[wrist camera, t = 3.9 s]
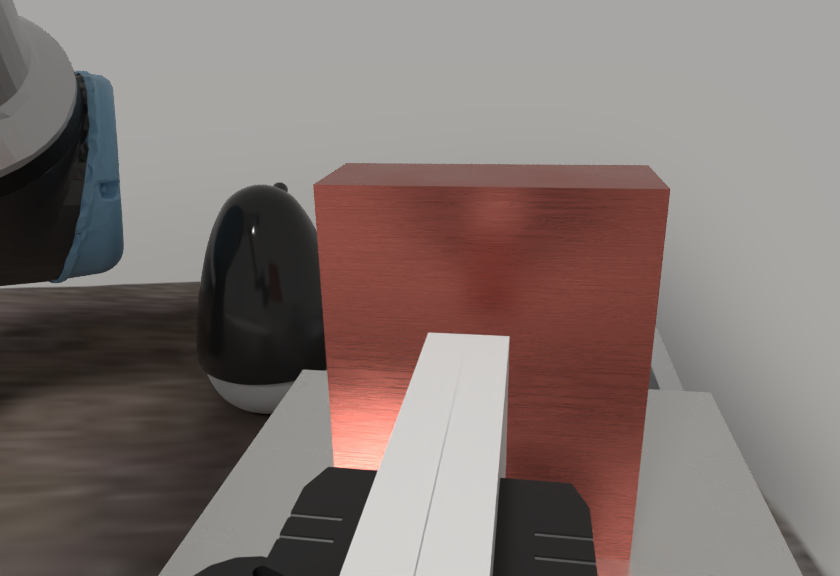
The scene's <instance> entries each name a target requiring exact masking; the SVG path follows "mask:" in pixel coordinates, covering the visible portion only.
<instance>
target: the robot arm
mask: <svg viewBox="0 0 840 576" xmlns="http://www.w3.org/2000/svg"><path fill="white" fill-rule="evenodd" d="M114 109H115V108H114V96H113V87H112V85H111V83H110V81H109V80H108V79H106V78H105V77H103V76H100V75H94V74H90V73H88V72H87V71H76V72H74V70H73V68H72V65H71V63H70V61H69V59H68V57H67V55H66V53H65V51H64V50H63V49H62V47H61V46H60V45H59V43H58V42H57V41H56V40H55V39H54V38H53V37H51V36H50V35H49V34H48V33H47V32H46V31H44V30H43V29H42V28H40V27H39V26H38V25H36V24H34V23H33V22H31V21H29V20H27V19H25V18H23V17H21V16H19V15H18V13H17V11H16V8H15V5H14V3H13V0H0V286H6V285H16V284H27V283H37V282H47V281H49V282H51V283H61V282H63V281H65V280H67V279H68V278H73V277H80V276H86V275H91V274H98V273H103V272H106V271H108V270H110V269H112V268H113V267H114V266H115V265H116V264H117V263H118V262H119V260H120V259H121V257H122V254H123V249H124V244H123V243H124V242H123V224H122V210H121V197H120V180H119V163H118V148H117V133H116V120H115V110H114ZM509 337H510V336H493V335H471V334H449V333H428V335H427V337H426V340H425V343H424V346H423V348H422V351H421V354H420V356H419V359H418V362H417V365H416V367H415V370H414V373H413V376H412V378H411V381H410V384H409V387H408V389H407V392H406V395H405V397H404V400H403V403H402V406H401V408H400V411H399V414H398V417H397V419H396V422H395V425H394V428H393V430H392V433H391V436H390V439H389V441H388V444H387V447H386V449H385V452H384V455H383V458H382V460H381V463H380V466H379V469H378V470H365V469H352V468H339V467H327V468H326V469H325V470H324V471H322V472H321V473H320V474H319V475H318V476H316V477H315V478H314V479H313V480H312V481H310V482H309V483H308V484H307V485H305V486H304V487H303V489H302V491H301V493H300V495H299V497H298V499H297V501H296V503H295V505H294V507H293V509H292V511H291V515H290V517H288V518H287V520H286V522H285V524H284V526H283V528H282V530H281V532H280V536H279V539H276V541H275V543H274V545H273V547H272V549H271V551H270V553H269V555H268V557H263V556H255V557H236V558H233V559H229V560H226V561H223V562H220V563H216V564H213V565H210V566H208V567H207V568H205V569H203V570H202V571H200V572H199V573H197V574H195V575H194V576H598V573H597V567H596V557H595V548H594V542H593V532H592V524H591V515H590V508H589V507H588V505H587V504H586V502H585V501H584V500H583V498H582V497H581V496H580V494H579V493H578V491H577V490H576V489H575V487H574V486H573V484H572V483H563V482H550V481H537V480H525V479H512V478H505V472H506V447H507V411H508V374H509Z"/></svg>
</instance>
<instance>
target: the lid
mask: <svg viewBox="0 0 840 576" xmlns="http://www.w3.org/2000/svg"><path fill="white" fill-rule="evenodd" d="M669 195H670V188H669V187H668V186H667V185H666V184H665V183H664V182H663V181H662V180H661V179H660V178H659V177H658V176H657V175H656V173H655V172H654V171H653V170H652V169H651V168H650V167H649V166H642V165H639V166H638V165H508V164H505V165H504V164H502V165H501V164H495V165H494V164H376V163H374V164H371V163H346V164H345V165H343V166H342V167H340V168H339V169H337V170H335V171H334V172H332V173H331V174H329V175H328V176H326V177H325V178H323V179H321V180H320V181H319V182H317V183H315V184H314V199H315V212H316V226H317V240H318V254H319V267H320V281H321V294H322V308H323V322H324V335H325V349H326V363H327V371H320V370H303V371H302V372H301V373H300V375H299V376H298V378H297V379H296V381H295V382H294V383H293V385H292V386H291V388H290V389H289V391H288V392H287V393H286V395H285V396H284V398H283V399H282V400H281V402H280V403H279V405H278V406H277V408H276V409H275V410H274V412H273V413H272V415H271V416H270V418H269V419H268V420H267V422H266V423H265V425H264V426H263V427H262V429H261V430H260V432H259V433H258V435H257V436H256V437H255V439H254V440H253V442H252V443H251V445H250V446H249V447H248V449H247V450H246V452H245V453H244V454H243V456H242V457H241V459H240V460H239V462H238V463H237V464H236V466H235V467H234V469H233V470H232V472H231V473H230V474H229V476H228V477H227V479H226V480H225V481H224V483H223V484H222V486H221V487H220V489H219V490H218V491H217V493H216V494H215V496H214V497H213V499H212V500H211V501H210V503H209V504H208V506H207V507H206V508H205V510H204V511H203V513H202V514H201V516H200V517H199V518H198V520H197V521H196V523H195V524H194V526H193V527H192V528H191V530H190V531H189V533H188V534H187V535H186V537H185V538H184V540H183V541H182V543H181V544H180V545H179V547H178V548H177V550H176V551H175V553H174V554H173V555H172V557H171V558H170V560H169V561H168V562H167V564H166V565H165V567H164V568H163V570H162V571H161V572H160V574H159V575H158V576H194V575H195V574H197V573H199V572H200V571H202V570H203V569H205V568H207V567H208V566H210V565H213V564H216V563H220V562H223V561H226V560H229V559H233V558H236V557H255V556H263V557H268V555H269V553H270V551H271V549H272V547H273V545H274V543H275V541H276V539H279V536H280V532H281V530H282V528H283V526H284V524H285V522H286V520H287V518H288V517H290V515H291V511H292V509H293V507H294V505H295V503H296V501H297V499H298V497H299V495H300V493H301V491H302V489H303V487H304V486H305V485H307V484H308V483H309V482H310V481H312V480H313V479H314V478H315V477H316V476H318V475H319V474H320V473H321V472H322V471H324V470H325V469H326V468H327V467H339V468H352V469H365V470H378V469H379V466H380V463H381V460H382V458H383V455H384V452H385V449H386V447H387V444H388V441H389V439H390V436H391V433H392V430H393V428H394V425H395V422H396V419H397V417H398V414H399V411H400V408H401V406H402V403H403V400H404V397H405V395H406V392H407V389H408V387H409V384H410V381H411V378H412V376H413V373H414V370H415V367H416V365H417V362H418V359H419V356H420V354H421V351H422V348H423V346H424V343H425V340H426V337H427V335H428V333H449V334H471V335H493V336H510V337H509V374H508V411H507V447H506V472H505V478H512V479H525V480H537V481H550V482H563V483H572V484H573V486H574V487H575V489H576V490H577V491H578V493H579V494H580V496H581V497H582V498H583V500H584V501H585V502H586V504H587V505H588V507H589V508H590V515H591V524H592V532H593V542H594V548H595V557H596V567H597V573H598V576H802V574H801V572H800V570H799V568H798V566H797V564H796V562H795V560H794V558H793V556H792V554H791V552H790V550H789V548H788V546H787V544H786V542H785V540H784V538H783V536H782V534H781V532H780V530H779V528H778V526H777V524H776V522H775V520H774V518H773V516H772V514H771V512H770V510H769V508H768V506H767V504H766V502H765V500H764V498H763V496H762V494H761V492H760V490H759V488H758V486H757V484H756V482H755V480H754V478H753V476H752V474H751V472H750V470H749V468H748V466H747V464H746V462H745V460H744V458H743V457H742V455H741V453H740V451H739V449H738V447H737V445H736V443H735V441H734V439H733V437H732V435H731V433H730V431H729V429H728V427H727V425H726V423H725V421H724V419H723V417H722V415H721V413H720V411H719V409H718V407H717V405H716V403H715V401H714V399H713V397H712V395H711V393H708V392H707V393H706V392H689V391H673V390H655V389H649V380H650V370H651V361H652V352H653V343H654V334H655V324H656V315H657V306H658V297H659V287H660V278H661V269H662V260H663V250H664V240H665V232H666V223H667V214H668V204H669Z"/></svg>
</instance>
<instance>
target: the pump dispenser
mask: <svg viewBox="0 0 840 576" xmlns="http://www.w3.org/2000/svg"><path fill="white" fill-rule="evenodd" d="M287 191H288V189H287V186H286V185H285V184H283V183H276V184H274V186H269V185H253V186H249V187H246V188H243V189H241V190H239V191H238V192H236V193H235V194H233V195H232V196H231V197H230V198H229V199H228V200H227V201H226V202H225V204H224V205H223V207H222V209H221V211H220V212H219V214H218V216H217V219H216V221H215V223H214V226H213V228H212V231H211V234H210V238H209V241H208V245H207V249H206V253H205V259H204V264H203V270H202V276H201V283H200V290H199V299H198V313H197V351H198V358H199V363H200V366H201V367H202V369H203V370H204V371H205V372H206V373H207V374H208V377H209V379H210V381H211V383H212V384H213V386H214V388H215V389H216V390H217V392H218V393H219V394H220V395H221V396H222V397H223V398H224V399H225V400H227V401H228V402H229V403H231V404H232V405H234V406H236V407H238V408H240V409H243V410H246V411H249V412H254V413H261V414H272V413H273V412H274V410H275V409H276V408H277V406H278V405H279V403H280V402H281V400H282V399H283V398H284V396H285V395H286V393H287V392H288V391H289V389H290V388H291V386H292V385H293V383H294V382H295V381H296V379H297V378H298V376H299V375H300V373H301V372H302V371H303V370H320V371H327V363H326V349H325V335H324V322H323V308H322V294H321V281H320V267H319V254H318V240H317V231H316V229H315V227H314V226H313V223H312V222H311V220H310V218H309V217H308V215H307V214H306V212H305V211H304V209H303V208H302V207H301V205H300V204H299V203H298V202H297V201H296V200H295V198H294V197H293V196H291V195H290V194H289V193H287Z"/></svg>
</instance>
